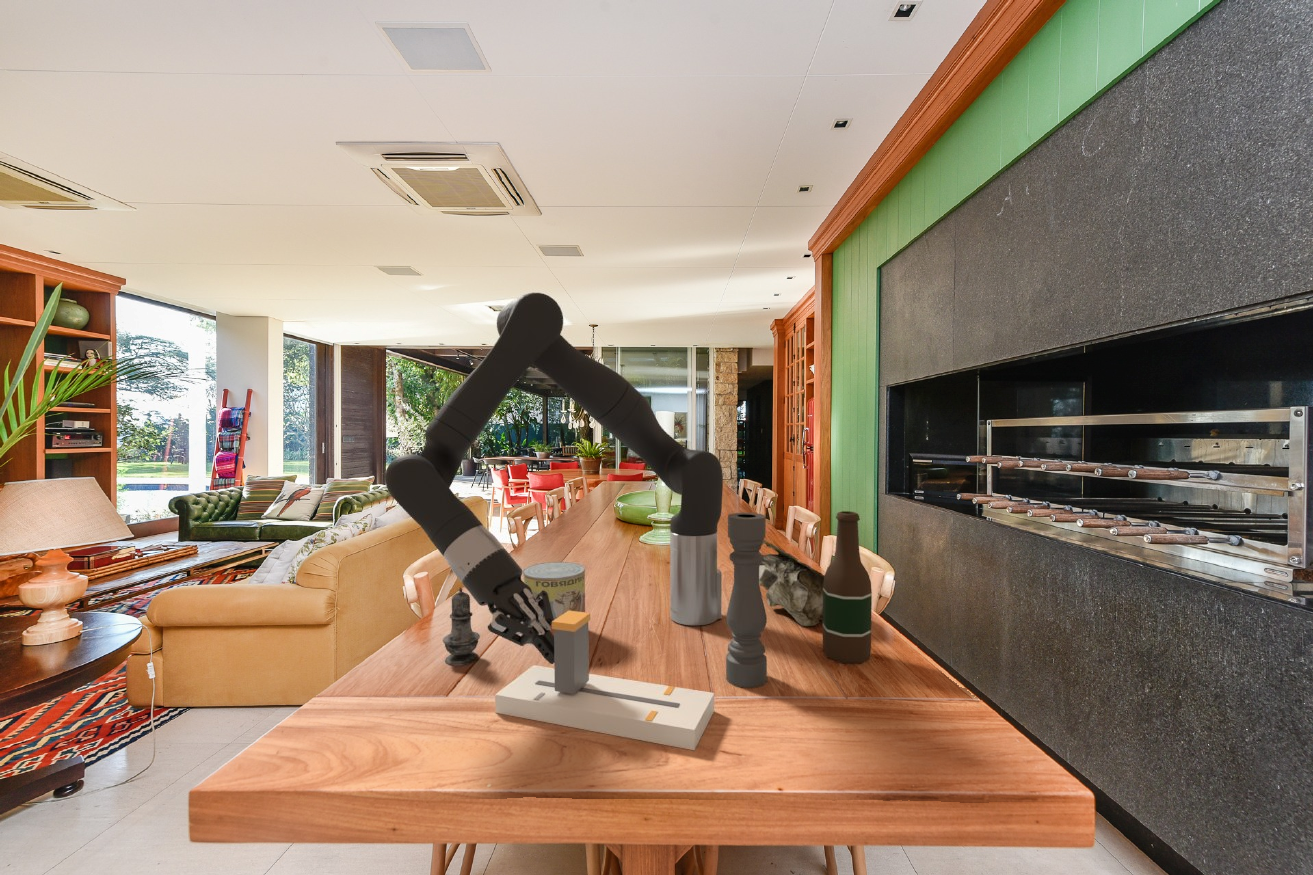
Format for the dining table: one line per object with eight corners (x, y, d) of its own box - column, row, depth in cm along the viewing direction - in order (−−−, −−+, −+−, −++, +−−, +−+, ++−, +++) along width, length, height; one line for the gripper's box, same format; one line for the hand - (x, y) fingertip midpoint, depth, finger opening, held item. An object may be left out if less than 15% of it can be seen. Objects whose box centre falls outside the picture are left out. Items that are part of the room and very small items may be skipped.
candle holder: (769, 672, 93) (770, 513, 92) (763, 690, 87) (763, 520, 86) (730, 667, 95) (730, 511, 94) (721, 684, 89) (721, 518, 88)
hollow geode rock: (769, 607, 139) (725, 562, 138) (807, 568, 140) (763, 523, 139) (816, 651, 111) (761, 595, 110) (863, 602, 112) (809, 546, 111)
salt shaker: (469, 667, 96) (467, 593, 95) (435, 664, 97) (434, 591, 96) (486, 653, 101) (485, 583, 101) (455, 650, 103) (453, 581, 102)
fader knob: (552, 691, 81) (551, 621, 81) (569, 676, 86) (568, 610, 85) (575, 695, 80) (574, 624, 80) (590, 679, 85) (590, 612, 84)
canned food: (544, 651, 102) (543, 581, 102) (512, 633, 111) (511, 569, 110) (597, 634, 110) (597, 570, 109) (564, 619, 118) (563, 558, 118)
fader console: (495, 712, 81) (495, 693, 81) (533, 681, 91) (533, 664, 91) (694, 750, 72) (694, 729, 72) (714, 710, 81) (714, 692, 81)
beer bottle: (873, 650, 102) (874, 510, 101) (868, 668, 95) (870, 517, 94) (826, 643, 105) (827, 507, 104) (818, 659, 98) (819, 514, 97)
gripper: (469, 558, 80) (551, 661, 76) (523, 538, 92) (596, 625, 89) (437, 593, 82) (516, 695, 78) (494, 569, 94) (564, 656, 91)
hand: (558, 658), depth 83 cm, fingers closed
